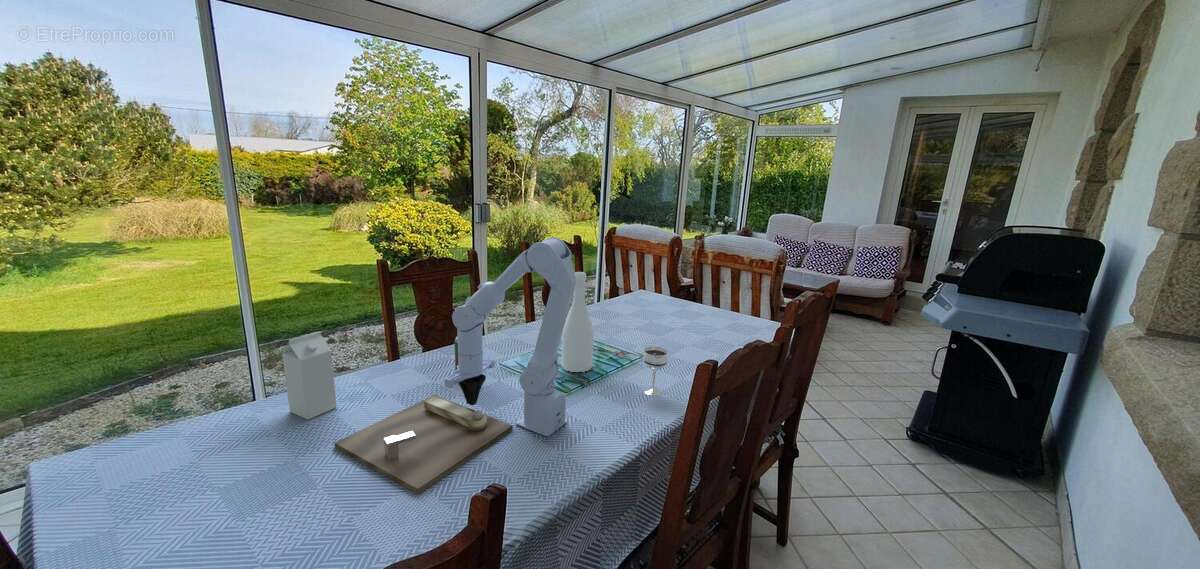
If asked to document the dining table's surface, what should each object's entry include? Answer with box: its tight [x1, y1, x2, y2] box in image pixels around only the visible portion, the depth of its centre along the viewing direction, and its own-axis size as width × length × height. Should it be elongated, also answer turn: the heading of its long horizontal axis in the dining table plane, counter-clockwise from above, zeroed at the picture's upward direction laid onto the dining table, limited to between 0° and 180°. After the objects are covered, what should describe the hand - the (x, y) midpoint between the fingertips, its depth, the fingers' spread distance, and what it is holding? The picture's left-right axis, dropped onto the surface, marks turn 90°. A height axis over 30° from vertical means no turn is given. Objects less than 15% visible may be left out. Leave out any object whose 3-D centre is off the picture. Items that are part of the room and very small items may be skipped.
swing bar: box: [424, 396, 487, 431], centre depth 106 cm, size 18×4×3 cm, turn 60°
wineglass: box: [642, 346, 669, 396], centre depth 126 cm, size 7×7×12 cm
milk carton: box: [282, 331, 338, 421], centre depth 107 cm, size 7×7×19 cm
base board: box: [334, 394, 514, 495], centre depth 100 cm, size 26×26×1 cm
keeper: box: [384, 431, 416, 461], centre depth 92 cm, size 6×2×4 cm, turn 130°
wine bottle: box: [561, 271, 595, 373], centre depth 137 cm, size 10×10×30 cm
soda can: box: [453, 335, 458, 372], centre depth 130 cm, size 5×5×12 cm
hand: (471, 403), depth 112 cm, fingers closed
